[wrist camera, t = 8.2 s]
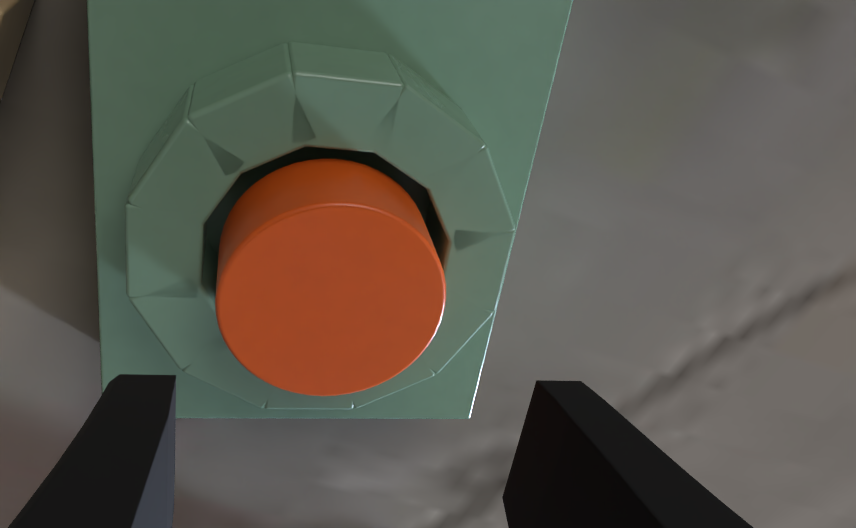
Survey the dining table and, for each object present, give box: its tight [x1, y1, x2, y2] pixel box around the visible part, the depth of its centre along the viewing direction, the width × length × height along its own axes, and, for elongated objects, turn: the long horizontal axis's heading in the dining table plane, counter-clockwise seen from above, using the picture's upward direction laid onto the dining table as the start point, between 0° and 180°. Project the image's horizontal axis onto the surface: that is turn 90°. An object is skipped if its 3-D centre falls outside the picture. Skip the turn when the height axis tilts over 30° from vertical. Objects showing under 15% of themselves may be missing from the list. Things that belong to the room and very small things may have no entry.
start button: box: [215, 159, 446, 396], centre depth 13 cm, size 4×4×2 cm
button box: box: [87, 0, 573, 419], centre depth 15 cm, size 10×8×4 cm
